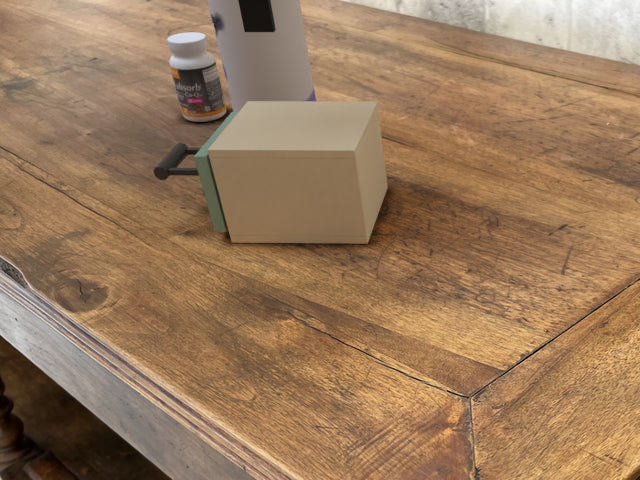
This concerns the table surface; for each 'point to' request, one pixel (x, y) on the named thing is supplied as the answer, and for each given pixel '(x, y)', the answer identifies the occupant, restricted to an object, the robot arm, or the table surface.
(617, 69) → the table surface
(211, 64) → the pill bottle
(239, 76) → the container
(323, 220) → the cabinet
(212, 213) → the drawer
